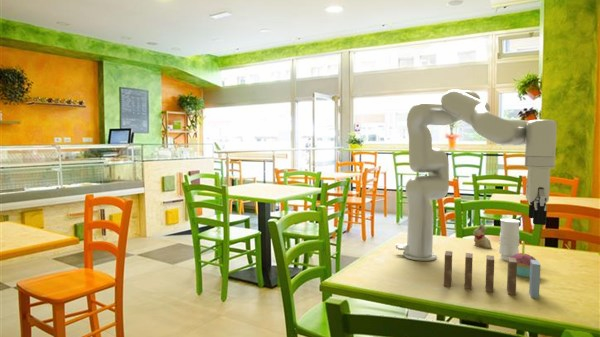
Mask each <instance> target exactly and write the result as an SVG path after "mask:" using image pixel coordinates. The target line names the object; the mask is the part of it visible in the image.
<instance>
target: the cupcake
mask: <svg viewBox="0 0 600 337" xmlns="http://www.w3.org/2000/svg"><path fill="white" fill-rule="evenodd" d="M525 245H526V244H525V241H524V240H523V241H522V245H521V246H522V248H521V251H522V252H521V253H519V254H514V255H513V256H511V258H516V261H517V276H519V277H523V278H528V277H529V278H530V260H537V259H536V258H535V257H534V256H532V255H530V254H528V253H527V254H526V253H525V249H526V248H525V247H526V246H525Z"/></svg>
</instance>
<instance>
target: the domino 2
mask: <svg viewBox="0 0 600 337" xmlns="http://www.w3.org/2000/svg"><path fill="white" fill-rule="evenodd" d="M464 259H465V264H464V266H465V267H464V290H470V291H471V290H473V289H472V287H473V286H472V285H473V259H474V258H473V253H470V252H465V258H464Z"/></svg>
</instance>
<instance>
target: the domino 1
mask: <svg viewBox="0 0 600 337" xmlns="http://www.w3.org/2000/svg"><path fill="white" fill-rule="evenodd" d="M443 267H444V268H443V270H444V271H443V272H444V273H443V276H444V277H443V286H444V287H447V288H448V287H449V288H452V287H451V285H452V282H453V280H452V275H453V274H452V273H453V269H452V268H453V251H451V250H445V252H444V266H443Z"/></svg>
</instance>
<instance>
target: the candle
mask: <svg viewBox="0 0 600 337" xmlns="http://www.w3.org/2000/svg"><path fill="white" fill-rule="evenodd" d="M520 223H521V221H520V220H519V219H514V218H500V233H499V240H498V241H499V242H498V243H499V249H498V254H500V256H499V258H500V260H503V261H507V262H508V257H511V256H513V255H514V254H519V246H520Z"/></svg>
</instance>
